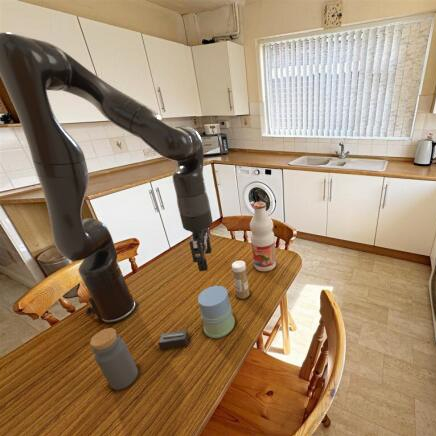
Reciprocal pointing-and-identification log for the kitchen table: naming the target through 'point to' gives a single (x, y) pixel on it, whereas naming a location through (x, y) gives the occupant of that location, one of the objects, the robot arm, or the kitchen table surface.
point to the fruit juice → (262, 238)
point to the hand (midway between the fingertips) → (205, 261)
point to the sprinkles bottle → (240, 279)
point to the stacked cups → (216, 311)
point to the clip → (173, 339)
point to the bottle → (114, 358)
